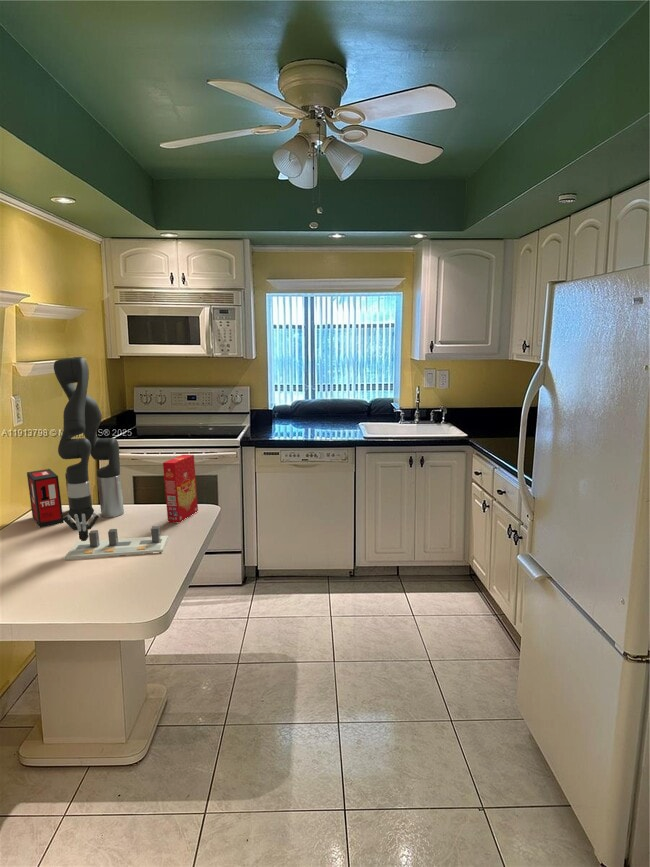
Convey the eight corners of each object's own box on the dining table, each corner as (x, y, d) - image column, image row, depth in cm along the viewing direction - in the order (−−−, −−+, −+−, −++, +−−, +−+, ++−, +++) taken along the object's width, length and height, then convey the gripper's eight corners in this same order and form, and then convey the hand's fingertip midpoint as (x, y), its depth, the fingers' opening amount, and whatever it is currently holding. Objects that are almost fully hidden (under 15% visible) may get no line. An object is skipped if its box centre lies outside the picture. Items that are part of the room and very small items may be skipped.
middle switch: (111, 542, 208) (110, 529, 207) (118, 541, 208) (116, 528, 207) (109, 545, 205) (107, 532, 204) (116, 544, 205) (114, 531, 204)
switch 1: (92, 543, 207) (91, 530, 206) (99, 543, 207) (98, 530, 206) (90, 546, 204) (88, 533, 203) (97, 546, 204) (95, 532, 203)
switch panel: (77, 545, 210) (76, 540, 210) (168, 538, 214) (168, 534, 214) (65, 560, 197) (64, 555, 196) (162, 552, 200) (162, 548, 200)
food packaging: (179, 523, 231) (174, 463, 226) (167, 522, 233) (162, 462, 228) (198, 511, 245) (193, 455, 240) (187, 510, 246) (183, 454, 242)
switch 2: (153, 539, 209) (152, 526, 208) (160, 538, 210) (159, 525, 209) (152, 542, 206) (151, 529, 205) (158, 541, 207) (157, 528, 206)
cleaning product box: (63, 522, 236) (57, 476, 232) (40, 527, 231) (34, 480, 227) (55, 513, 249) (49, 468, 245) (32, 517, 244) (26, 472, 240)
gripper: (101, 490, 206) (105, 535, 209) (63, 491, 204) (68, 537, 208) (95, 496, 199) (100, 543, 202) (56, 498, 197) (61, 545, 200)
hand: (84, 540), depth 205 cm, fingers closed
